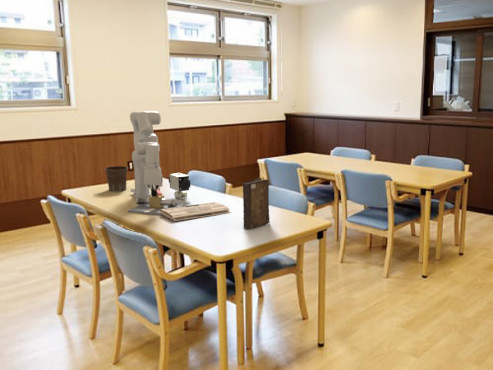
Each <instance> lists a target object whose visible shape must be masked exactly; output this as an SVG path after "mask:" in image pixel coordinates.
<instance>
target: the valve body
mask: <svg viewBox="0 0 493 370" xmlns="http://www.w3.org/2000/svg"><path fill="white" fill-rule="evenodd" d="M135 198H136V199H135V202H136V204H137V206H138V207H144V206H146V205H147V204H149V208H157V209H160V208H162V207H164V205H165V206H168V208H174V207H177V204H179V203H178V200H179V199H178V198H176V197H174V198H172V199H170V198H169V199H168V198H165V195H163V194H162V195H161V196H159V195H158V194H157V195H156V196H155V197H152V195H151V196H148V197H142V196H137V197H135Z"/></svg>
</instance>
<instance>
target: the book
mask: <svg viewBox="0 0 493 370" xmlns="http://www.w3.org/2000/svg"><path fill="white" fill-rule="evenodd" d="M269 187H270V178H266V179H263V177H258V178H256V179H251V180H249V181H248V180H247V181H244V182H243V183H242V199H243V203H242V206H243V218H242V219H243V229H247V230H254V229H256V228H259V227H262V226H266V225H265V224H267V225H269V224H270V203H269V200H270V199H269V198H270V197H269V196H270V195H269V192H270V190H269ZM268 223H269V224H268Z"/></svg>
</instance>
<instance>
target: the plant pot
mask: <svg viewBox="0 0 493 370" xmlns="http://www.w3.org/2000/svg"><path fill="white" fill-rule="evenodd" d="M128 169H129V167H128V166H124V165H121V166H120V165H118V166H117V165H115V166H113V165H112V166H108V167H105V168H104V170H105V174H106V178H107V179H106V180H107V186H108V190H109V191H110V192H120V191H121V192H123V191H126V190H127V181H128V180H127V178H128V175H127V174H128Z"/></svg>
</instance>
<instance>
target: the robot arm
mask: <svg viewBox="0 0 493 370" xmlns="http://www.w3.org/2000/svg"><path fill="white" fill-rule="evenodd" d="M129 120H130V123H131V125H132V128H133V145H134V150H133V152H132V153H131V159H132V165H133V170H134V171H133V174H134V175H133V177H134V188H130V193H133V194H132V196H133V197H134V198H137V196H142V197H147V198H149V196H152V197H155V196H156V195H157V189H158V188H162V187H163V186H164V185H163V174H162V167H160V150H161V147H160V144H159V137H158V135H156V133H154V126H155V125H156V126H158V125H160V124H161V122H162V118H161V114H160V112H159V111H157V110H148V111H147V110H145V111H142V110H141V111H132V112H130V114H129Z"/></svg>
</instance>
